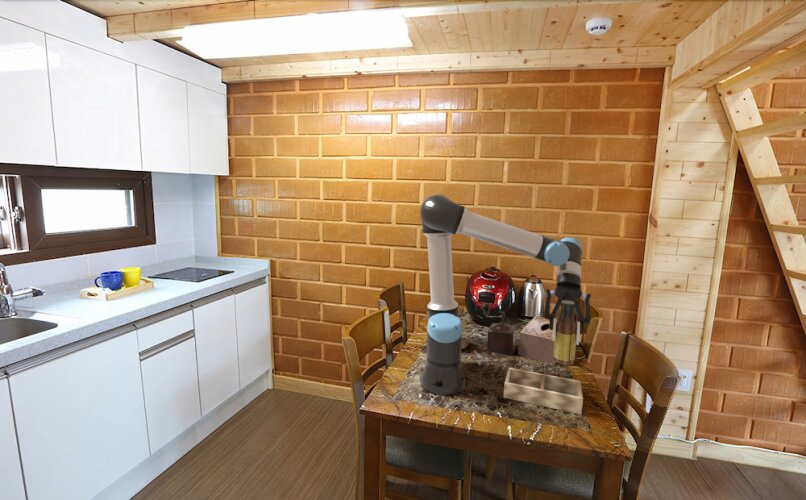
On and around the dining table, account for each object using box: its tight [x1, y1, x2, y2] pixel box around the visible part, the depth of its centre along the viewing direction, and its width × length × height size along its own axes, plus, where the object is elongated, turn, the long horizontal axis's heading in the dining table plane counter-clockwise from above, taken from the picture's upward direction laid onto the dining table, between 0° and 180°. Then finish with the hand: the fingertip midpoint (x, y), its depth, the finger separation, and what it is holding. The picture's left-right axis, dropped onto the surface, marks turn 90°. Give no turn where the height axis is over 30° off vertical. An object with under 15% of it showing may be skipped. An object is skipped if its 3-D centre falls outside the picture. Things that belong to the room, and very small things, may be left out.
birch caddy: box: [503, 367, 584, 415], centre depth 123 cm, size 23×12×5 cm, turn 68°
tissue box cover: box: [517, 315, 558, 365], centre depth 161 cm, size 26×14×10 cm, turn 147°
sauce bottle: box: [554, 300, 577, 366], centre depth 118 cm, size 7×6×20 cm
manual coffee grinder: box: [481, 302, 517, 356], centre depth 160 cm, size 16×11×18 cm
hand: (565, 340), depth 115 cm, fingers closed on sauce bottle, 6 cm apart
